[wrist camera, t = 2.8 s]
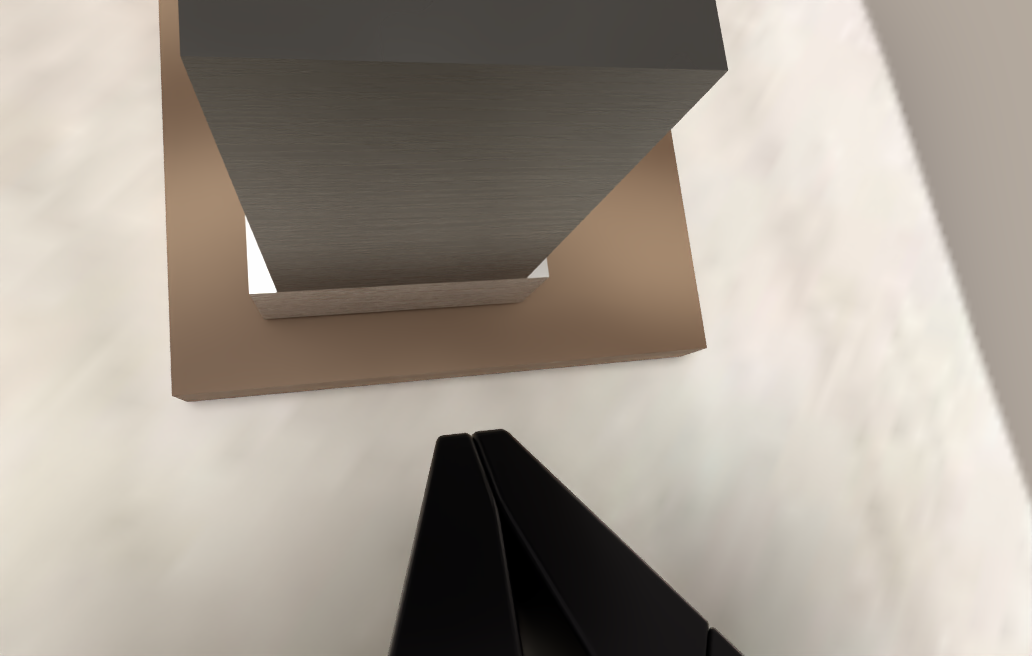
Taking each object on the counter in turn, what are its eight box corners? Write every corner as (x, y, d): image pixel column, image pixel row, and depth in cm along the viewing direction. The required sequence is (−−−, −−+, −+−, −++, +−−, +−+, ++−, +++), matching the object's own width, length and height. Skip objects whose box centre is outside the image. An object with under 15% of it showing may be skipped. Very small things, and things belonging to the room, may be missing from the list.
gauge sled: (575, 298, 17) (886, 74, 7) (263, 319, 15) (111, 53, 5) (547, 96, 18) (791, -348, 8) (251, 92, 16) (99, -491, 6)
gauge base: (680, 356, 20) (872, 294, 12) (187, 401, 16) (62, 353, 9) (615, -53, 22) (747, -306, 15) (169, -86, 18) (56, -433, 11)
